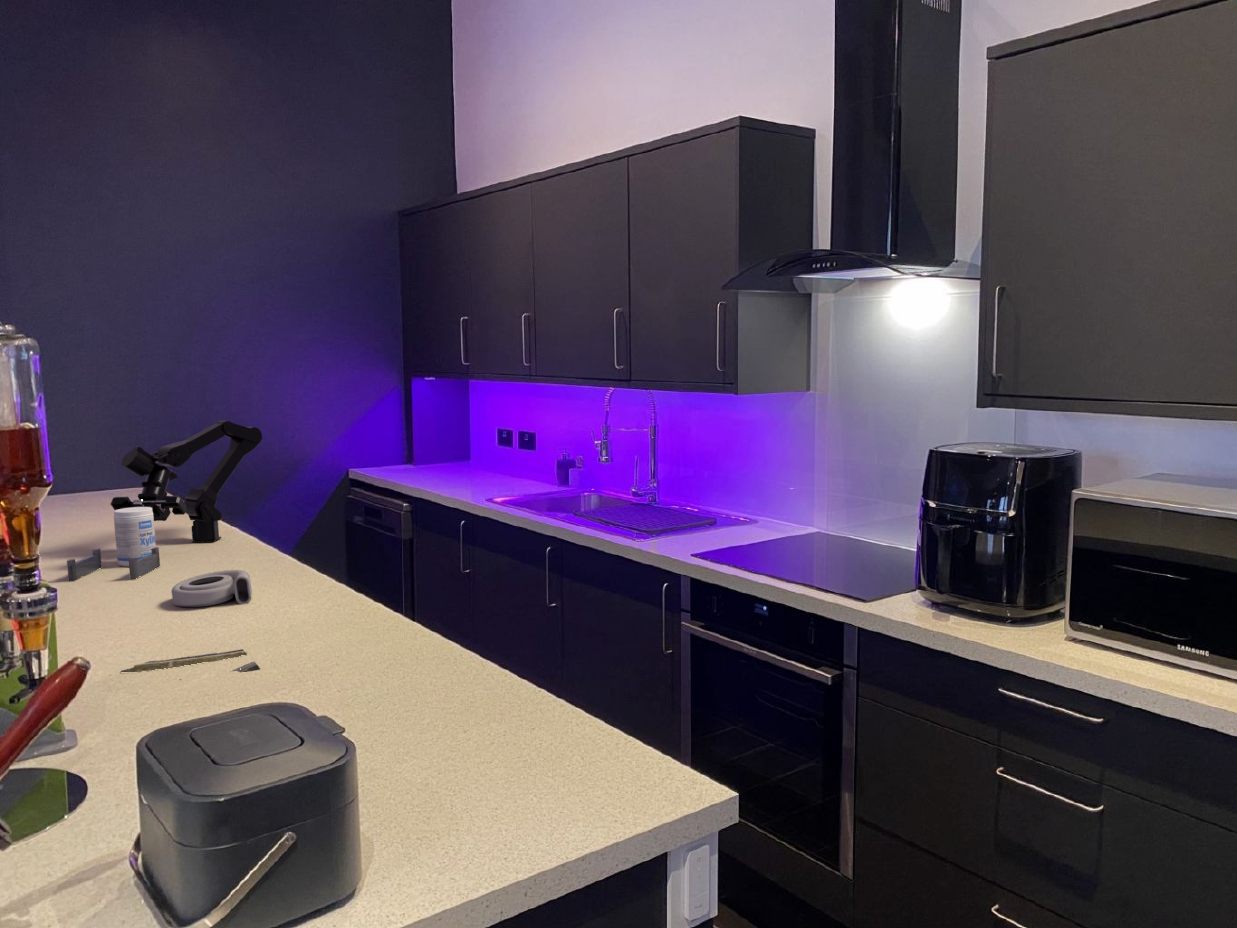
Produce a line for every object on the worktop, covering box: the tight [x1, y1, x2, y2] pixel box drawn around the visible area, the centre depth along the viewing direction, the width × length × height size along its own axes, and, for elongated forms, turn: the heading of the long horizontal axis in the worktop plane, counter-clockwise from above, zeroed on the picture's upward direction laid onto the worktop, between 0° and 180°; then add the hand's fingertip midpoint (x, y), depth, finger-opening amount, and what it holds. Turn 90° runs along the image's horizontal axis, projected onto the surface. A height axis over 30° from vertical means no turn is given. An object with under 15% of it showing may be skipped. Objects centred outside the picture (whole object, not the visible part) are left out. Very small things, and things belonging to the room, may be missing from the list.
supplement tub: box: [113, 507, 157, 567], centre depth 263 cm, size 10×10×15 cm
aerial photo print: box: [120, 649, 261, 681], centre depth 173 cm, size 25×19×2 cm
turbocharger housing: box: [170, 569, 253, 608], centre depth 224 cm, size 17×6×15 cm
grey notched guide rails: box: [66, 546, 161, 582], centre depth 251 cm, size 16×14×5 cm
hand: (140, 531), depth 268 cm, fingers closed
